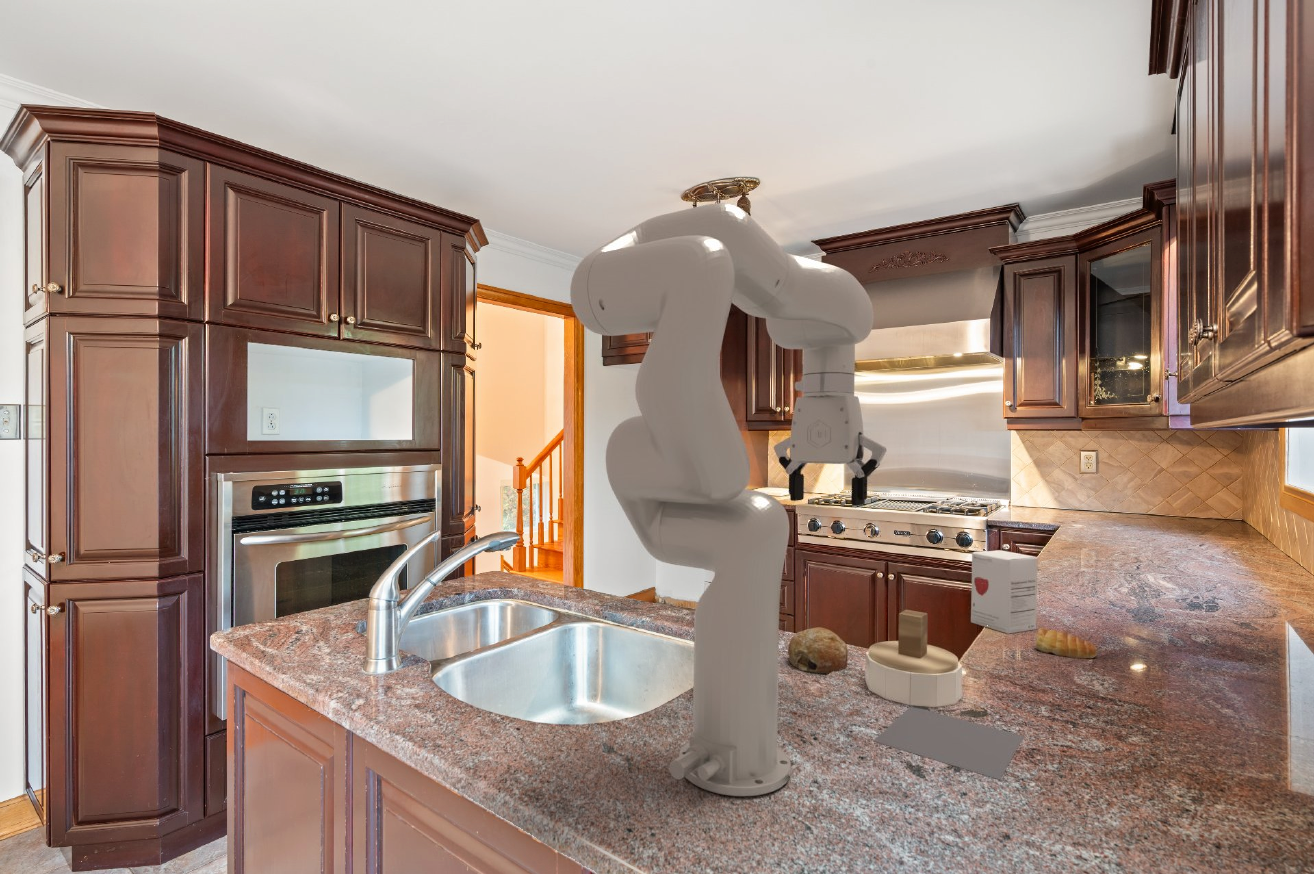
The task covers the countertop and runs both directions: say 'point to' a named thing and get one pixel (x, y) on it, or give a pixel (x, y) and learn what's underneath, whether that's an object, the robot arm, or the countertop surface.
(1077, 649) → the pastry
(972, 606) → the supplement box
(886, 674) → the bowl
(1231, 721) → the countertop surface
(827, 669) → the bread roll
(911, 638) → the lid
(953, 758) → the mat
